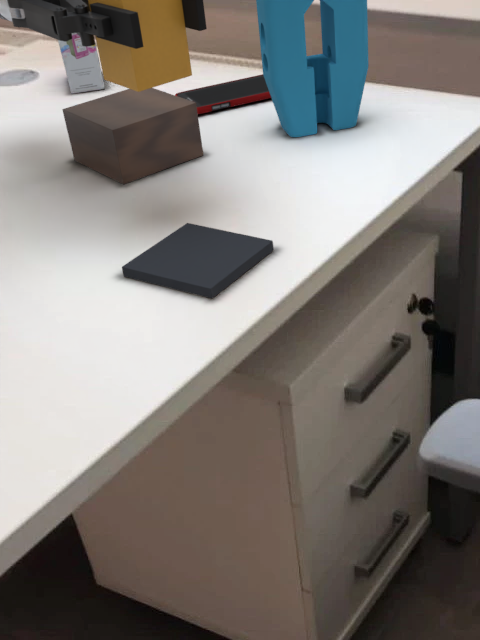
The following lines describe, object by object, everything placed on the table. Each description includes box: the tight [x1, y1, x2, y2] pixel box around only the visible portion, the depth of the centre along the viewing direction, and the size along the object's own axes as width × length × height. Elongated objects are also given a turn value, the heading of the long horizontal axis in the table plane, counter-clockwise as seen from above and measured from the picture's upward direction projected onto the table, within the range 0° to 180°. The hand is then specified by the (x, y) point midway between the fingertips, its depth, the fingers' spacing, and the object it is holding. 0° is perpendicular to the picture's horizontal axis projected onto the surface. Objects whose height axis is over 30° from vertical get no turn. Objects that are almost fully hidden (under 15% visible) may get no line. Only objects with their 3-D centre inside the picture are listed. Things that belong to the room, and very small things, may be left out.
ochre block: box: [88, 0, 193, 92], centre depth 79 cm, size 6×6×10 cm
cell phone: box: [174, 73, 272, 115], centre depth 118 cm, size 8×15×1 cm, turn 116°
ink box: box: [57, 33, 105, 94], centre depth 125 cm, size 9×5×12 cm, turn 13°
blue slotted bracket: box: [255, 0, 370, 138], centre depth 102 cm, size 12×5×20 cm, turn 107°
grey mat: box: [121, 222, 275, 299], centre depth 81 cm, size 10×10×1 cm
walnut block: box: [61, 87, 204, 185], centre depth 102 cm, size 11×11×6 cm
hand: (169, 21), depth 76 cm, fingers closed on ochre block, 6 cm apart
